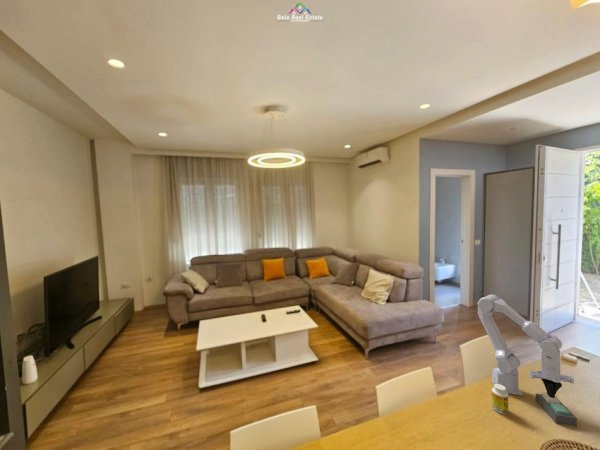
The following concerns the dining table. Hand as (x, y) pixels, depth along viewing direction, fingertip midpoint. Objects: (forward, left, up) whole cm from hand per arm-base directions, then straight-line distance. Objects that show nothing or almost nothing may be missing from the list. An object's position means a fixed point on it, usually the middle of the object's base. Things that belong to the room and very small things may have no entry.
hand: (550, 396), depth 108 cm
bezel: (0, -3, -5) cm, 6 cm away
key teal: (0, -6, -3) cm, 6 cm away
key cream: (0, 0, -2) cm, 2 cm away
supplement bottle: (-21, -6, -6) cm, 23 cm away
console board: (0, -3, -5) cm, 6 cm away
